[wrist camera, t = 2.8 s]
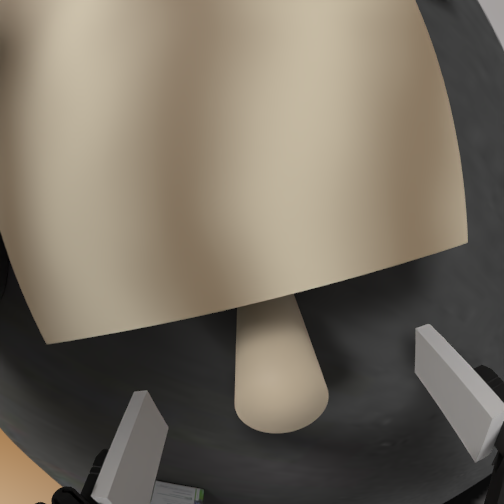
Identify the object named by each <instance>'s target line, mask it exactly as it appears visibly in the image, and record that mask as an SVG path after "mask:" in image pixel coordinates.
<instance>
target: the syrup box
mask: <svg viewBox="0 0 504 504" xmlns="http://www.w3.org/2000/svg"><path fill="white" fill-rule="evenodd" d="M203 496H204V490H203V489H200V488H194V487H188V486H182V485H177V484H171V483H166V482H161V481H155V486H154V490H153V494H152V498H151V502H150V504H203Z"/></svg>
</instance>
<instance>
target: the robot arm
mask: <svg viewBox="0 0 504 504" xmlns="http://www.w3.org/2000/svg"><path fill="white" fill-rule="evenodd" d="M7 269H8V253H7V250H6V247H5V244H4V241H3V238H2V235H1V232H0V299H1V297H2V295H3V292H4V289H5V285H6V279H7ZM415 373H416V375H417V376H418V377H419V379H420V380H421V382H422V383H423V385H424V386H425V387H426V389H427V390H428V392H429V393H430V395H431V396H432V398H433V399H434V400H435V402H436V403H437V405H438V406H439V408H440V409H441V411H442V412H443V414H444V415H445V417H446V418H447V420H448V421H449V423H450V424H451V426H452V427H453V429H454V430H455V432H456V433H457V435H458V436H459V438H460V439H461V441H462V443H463V444H464V446H465V447H466V449H467V450H468V452H469V453H470V455H471V457H472V458H473V460H474V461H475V462H477V461H479V460H481V459H482V458H484V457H486V456H488V455H489V454H491V451H492V449H493V447H494V446H495V447H496V448H497V450H498V452H497V455H496V457H495V459H494V461H493V463H492V465H494V469H493V473H492V477H491V481H490V485H489V489H488V492H487V495H486V499H485V502H484V504H504V382H503V381H502V380H501V378H499V377H498V375H497V374H496V373H495V372H494V371H493V370H492V369H490V368H488V367H486V366H483V365H480V366H478V367H477V368H475V369H473V368H472V367H471V366H470V365H469V364H468V363H467V362H466V361H465V360H464V359H463V358H462V357H461V356H460V355H459V354H458V352H457V351H456V350H455V349H454V348H453V347H452V346H451V345H450V344H449V343H448V342H447V341H446V340H445V339H444V338H443V337H442V336H441V335H440V334H439V333H438V332H437V331H436V330H435V329H434V328H433V327H432V326H431V325H430V324H426V325H424V326H421V327H418V328H416V346H415ZM168 428H169V427H168V426H167V424H166V422H165V421H164V419H163V417H162V416H161V414H160V412H159V410H158V409H157V407H156V405H155V403H154V402H153V400H152V398H151V396H150V394H149V392H148V391H147V390H145V391H135V392H134V393H133V395H132V397H131V400H130V402H129V404H128V407H127V409H126V411H125V413H124V416H123V418H122V420H121V423H120V425H119V427H118V430H117V432H116V435H115V437H114V439H113V442H112V444H111V447H110V449H109V450H107V449H103V450H102V451H101V452H100V453H99V455H98V456H97V457H96V459H95V461H94V463H93V467H92V468H91V470H90V474H89V475H88V477H87V480H86V482H85V485H84V487H83V489H82V492H81V494H79V493H78V492H77V491H76V490H75V489H74V488H72V487H62V488H60V489H58V490H57V491H56V492H55V493H54V495H53V497H52V504H150V500H151V496H152V491H153V487H154V483H155V479H156V475H157V471H158V467H159V463H160V459H161V455H162V451H163V447H164V443H165V440H166V436H167V432H168ZM36 504H45V503H43V502H38V503H36Z"/></svg>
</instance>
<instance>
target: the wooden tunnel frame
mask: <svg viewBox="0 0 504 504" xmlns="http://www.w3.org/2000/svg"><path fill="white" fill-rule="evenodd" d="M0 232H1V235H2V238H3V241H4V244H5V247H6V250H7V253H8V256H9V259H10V262H11V265H12V267H13V270H14V273H15V275H16V278H17V280H18V283H19V285H20V288H21V290H22V293H23V295H24V297H25V300H26V302H27V304H28V307H29V309H30V311H31V313H32V316H33V318H34V320H35V322H36V324H37V326H38V328H39V330H40V332H41V334H42V336H43V338H44V340H45V342H46V344H53V343H59V342H65V341H72V340H78V339H83V338H89V337H95V336H101V335H106V334H112V333H117V332H123V331H128V330H133V329H138V328H143V327H149V326H154V325H159V324H163V323H168V322H173V321H178V320H183V319H187V318H192V317H197V316H201V315H206V314H210V313H215V312H219V311H224V310H228V309H232V308H237V307H241V306H245V305H249V304H254V303H258V302H262V301H266V300H270V299H274V298H278V297H282V296H286V295H290V294H294V293H298V292H302V291H306V290H309V289H313V288H317V287H321V286H324V285H328V284H332V283H336V282H339V281H343V280H347V279H350V278H354V277H357V276H361V275H364V274H368V273H371V272H375V271H378V270H382V269H385V268H389V267H392V266H395V265H399V264H402V263H405V262H409V261H412V260H415V259H418V258H422V257H425V256H428V255H431V254H434V253H437V252H441V251H444V250H447V249H450V248H453V247H456V246H459V245H462V244H465V243H468V237H467V217H466V204H465V193H464V184H463V176H462V168H461V161H460V154H459V148H458V142H457V137H456V132H455V127H454V122H453V117H452V112H451V108H450V104H449V100H448V96H447V92H446V88H445V84H444V81H443V77H442V74H441V70H440V67H439V63H438V60H437V57H436V54H435V51H434V48H433V45H432V42H431V39H430V36H429V34H428V31H427V28H426V26H425V23H424V21H423V18H422V16H421V13H420V11H419V8H418V6H417V3H416V1H415V0H0Z"/></svg>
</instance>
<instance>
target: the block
mask: <svg viewBox="0 0 504 504" xmlns="http://www.w3.org/2000/svg"><path fill="white" fill-rule="evenodd" d="M328 397H329V395H328V389H327V386H326V383H325V380H324V377H323V374H322V372H321V369H320V366H319V363H318V360H317V357H316V355H315V352H314V349H313V346H312V343H311V340H310V338H309V335H308V332H307V329H306V326H305V324H304V321H303V318H302V315H301V313H300V310H299V307H298V304H297V302H296V299H295V296H294V294H290V295H286V296H282V297H278V298H274V299H270V300H266V301H262V302H258V303H254V304H249V305H245V306H241V307H237V331H236V366H235V410H236V413H237V415H238V417H239V418H240V419H241V420H242V421H243V422H244V423H245V424H246V425H248V426H249V427H251V428H253V429H255V430H258V431H261V432H266V433H287V432H292V431H295V430H298V429H301V428H303V427H305V426H307V425H309V424H311V423H312V422H313V421H315V420H316V419H317V418H318V417H319V416H320V415H321V414H322V413H323V411H324V410H325V408H326V406H327V403H328Z"/></svg>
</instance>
